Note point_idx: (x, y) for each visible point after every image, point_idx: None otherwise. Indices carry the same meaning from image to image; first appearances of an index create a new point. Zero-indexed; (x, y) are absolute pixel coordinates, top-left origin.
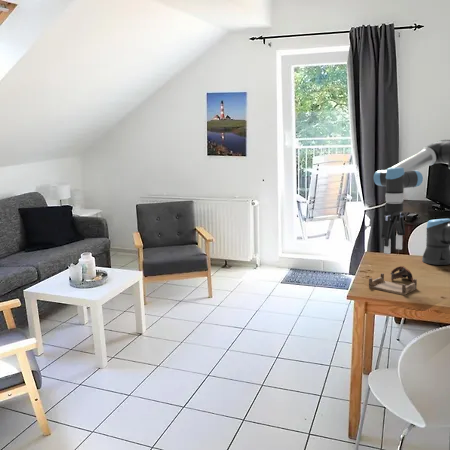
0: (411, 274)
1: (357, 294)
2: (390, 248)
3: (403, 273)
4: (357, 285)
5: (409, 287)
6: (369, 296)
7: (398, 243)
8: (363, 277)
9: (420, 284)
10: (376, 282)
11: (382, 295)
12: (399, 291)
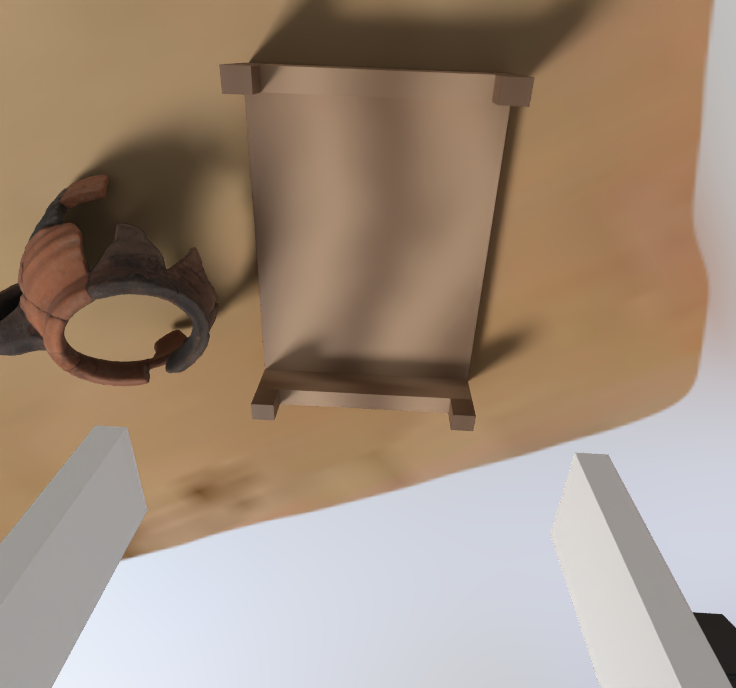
0: (58, 213)
1: (660, 379)
2: (614, 534)
3: (156, 263)
4: (444, 459)
5: (404, 70)
6: (677, 296)
7: (80, 569)
8: (243, 501)
9: (84, 97)
10: (381, 381)
11: (607, 228)
12: (491, 134)
